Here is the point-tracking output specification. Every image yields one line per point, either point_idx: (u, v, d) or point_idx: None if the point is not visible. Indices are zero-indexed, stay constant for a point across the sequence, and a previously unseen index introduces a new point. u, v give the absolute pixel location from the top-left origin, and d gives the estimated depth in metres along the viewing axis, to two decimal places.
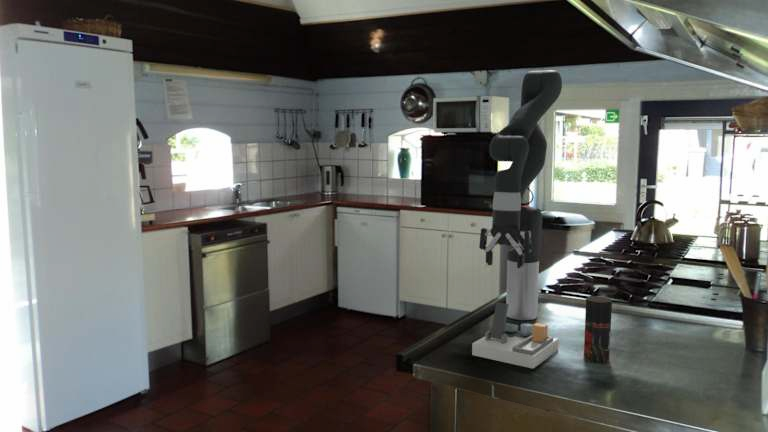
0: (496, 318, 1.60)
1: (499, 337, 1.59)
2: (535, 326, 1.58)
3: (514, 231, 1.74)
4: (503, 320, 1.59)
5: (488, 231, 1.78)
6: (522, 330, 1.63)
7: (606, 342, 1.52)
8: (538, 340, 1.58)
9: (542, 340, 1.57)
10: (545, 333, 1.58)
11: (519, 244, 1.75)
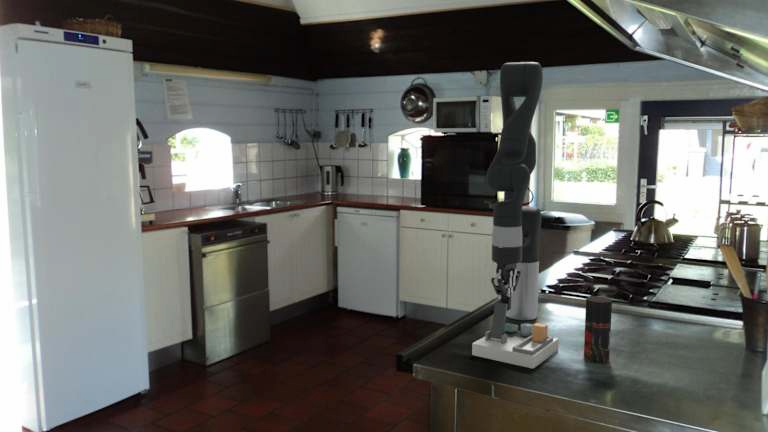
0: (496, 318, 1.60)
1: (499, 337, 1.59)
2: (535, 326, 1.58)
3: (515, 264, 1.63)
4: (502, 320, 1.59)
5: (500, 277, 1.58)
6: (522, 330, 1.63)
7: (606, 342, 1.52)
8: (538, 340, 1.58)
9: (542, 340, 1.57)
10: (545, 333, 1.58)
11: None
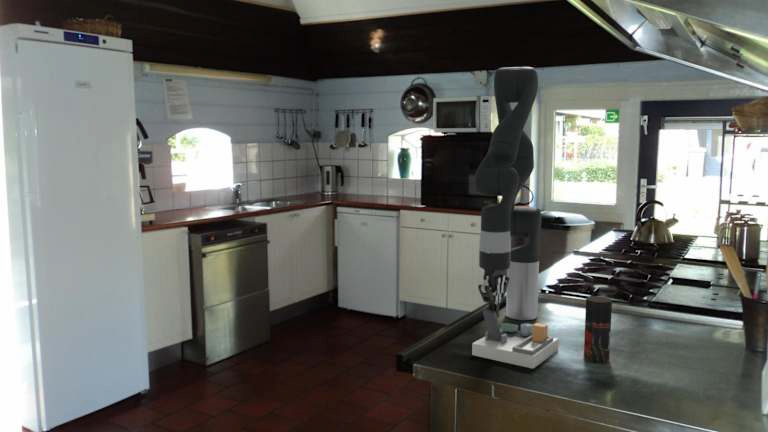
0: (489, 325, 1.57)
1: (498, 340, 1.58)
2: (535, 326, 1.58)
3: (504, 271, 1.58)
4: (496, 326, 1.56)
5: (488, 284, 1.52)
6: (522, 330, 1.63)
7: (606, 342, 1.52)
8: (538, 340, 1.58)
9: (542, 340, 1.57)
10: (545, 333, 1.58)
11: None
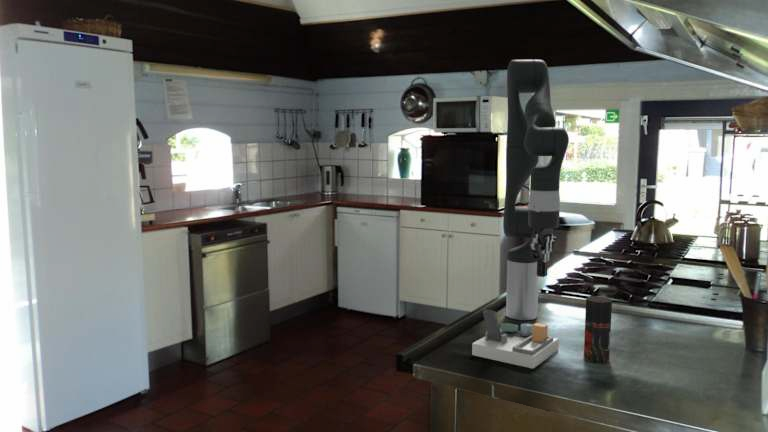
0: (489, 325, 1.57)
1: (498, 340, 1.58)
2: (535, 326, 1.58)
3: (552, 230, 1.62)
4: (496, 326, 1.56)
5: (537, 241, 1.56)
6: (522, 330, 1.63)
7: (606, 342, 1.52)
8: (538, 340, 1.58)
9: (542, 340, 1.57)
10: (545, 333, 1.58)
11: None
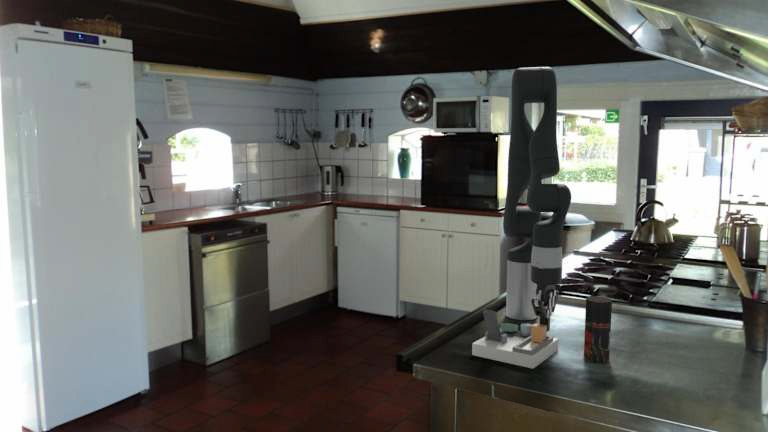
0: (489, 325, 1.57)
1: (498, 340, 1.58)
2: (534, 327, 1.58)
3: (554, 285, 1.61)
4: (496, 326, 1.56)
5: (540, 298, 1.56)
6: (522, 330, 1.63)
7: (606, 342, 1.52)
8: (537, 341, 1.58)
9: (541, 341, 1.57)
10: (544, 334, 1.57)
11: None
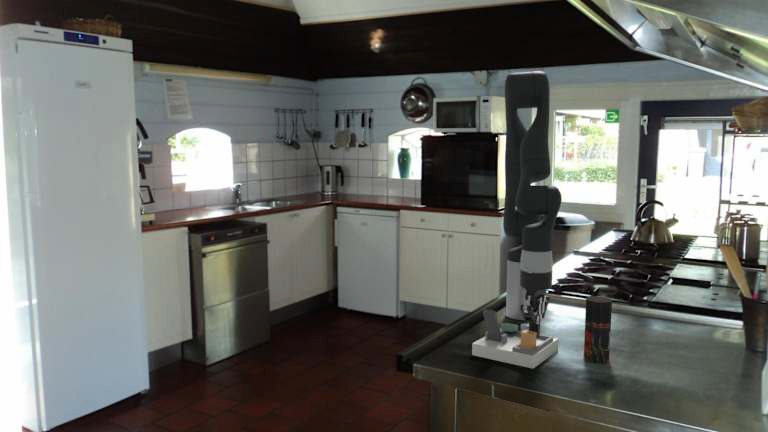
0: (489, 325, 1.57)
1: (498, 340, 1.58)
2: (524, 333, 1.52)
3: (544, 290, 1.56)
4: (496, 326, 1.56)
5: (530, 304, 1.51)
6: (522, 330, 1.63)
7: (606, 342, 1.52)
8: (526, 348, 1.52)
9: (531, 348, 1.52)
10: (534, 340, 1.52)
11: None
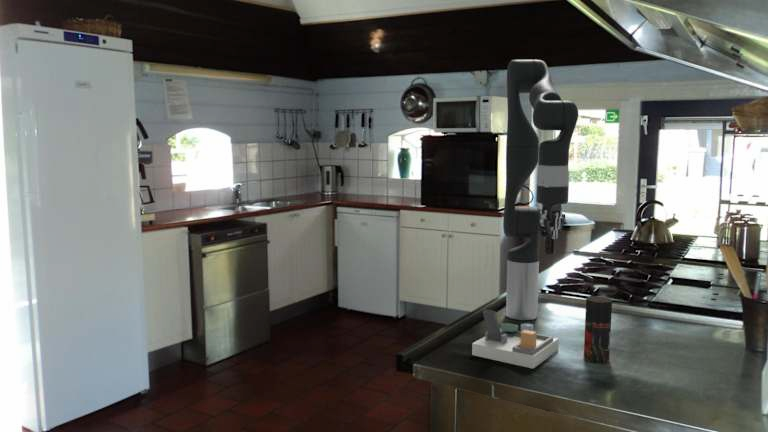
0: (489, 325, 1.57)
1: (498, 340, 1.58)
2: (524, 333, 1.52)
3: (561, 207, 1.58)
4: (496, 326, 1.56)
5: (546, 218, 1.53)
6: (522, 330, 1.63)
7: (606, 342, 1.52)
8: (526, 348, 1.52)
9: (531, 348, 1.52)
10: (534, 340, 1.52)
11: None
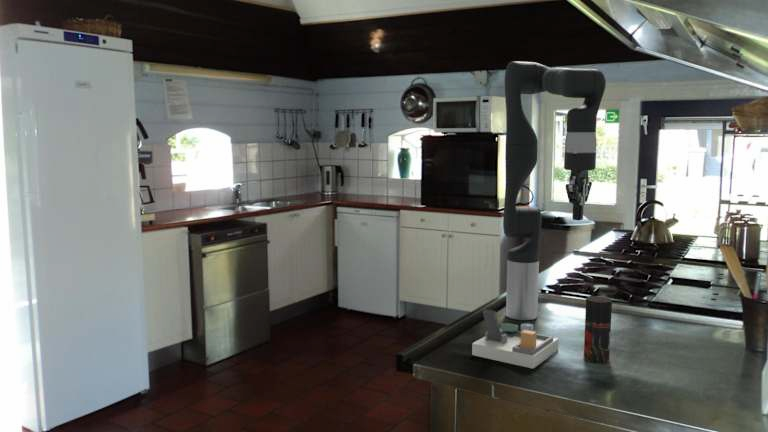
0: (489, 325, 1.57)
1: (498, 340, 1.58)
2: (524, 333, 1.52)
3: (587, 174, 1.61)
4: (496, 326, 1.56)
5: (574, 183, 1.56)
6: (522, 330, 1.63)
7: (606, 342, 1.52)
8: (526, 348, 1.52)
9: (531, 348, 1.52)
10: (534, 340, 1.52)
11: None
